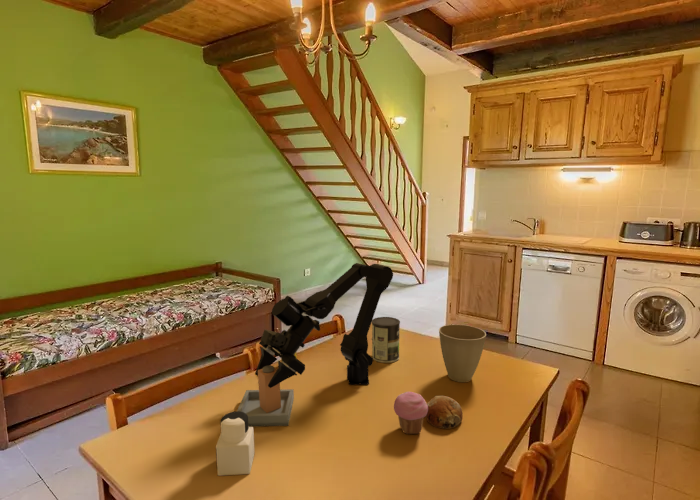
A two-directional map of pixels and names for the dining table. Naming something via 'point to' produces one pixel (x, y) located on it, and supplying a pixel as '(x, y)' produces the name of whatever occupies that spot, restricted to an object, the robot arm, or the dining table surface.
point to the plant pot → (461, 350)
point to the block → (268, 390)
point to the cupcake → (410, 411)
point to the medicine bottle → (235, 445)
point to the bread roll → (444, 412)
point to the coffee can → (385, 339)
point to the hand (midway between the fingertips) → (262, 380)
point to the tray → (273, 418)
